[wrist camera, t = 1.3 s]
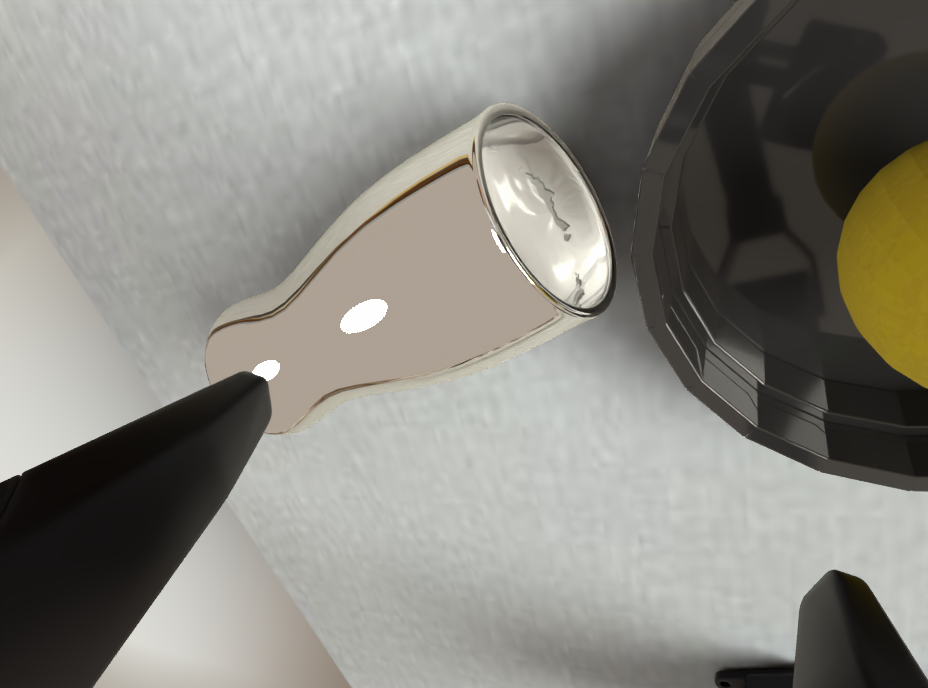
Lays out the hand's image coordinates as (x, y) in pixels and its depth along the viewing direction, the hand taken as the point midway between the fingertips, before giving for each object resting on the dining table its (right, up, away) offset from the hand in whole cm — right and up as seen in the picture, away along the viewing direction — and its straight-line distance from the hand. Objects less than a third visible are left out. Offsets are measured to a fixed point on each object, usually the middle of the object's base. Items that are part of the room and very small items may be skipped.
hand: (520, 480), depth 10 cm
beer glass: (-9, +1, +17) cm, 20 cm away
